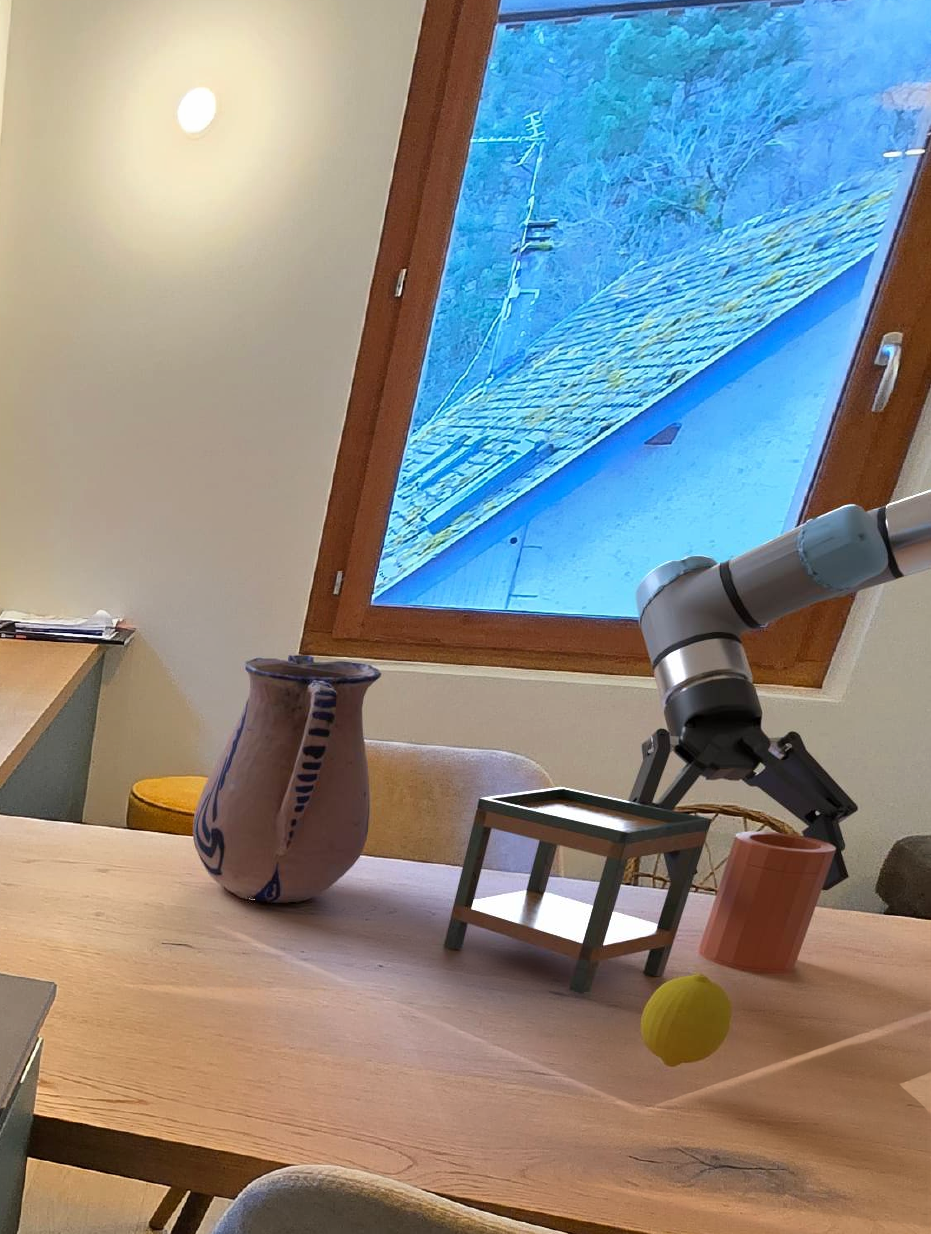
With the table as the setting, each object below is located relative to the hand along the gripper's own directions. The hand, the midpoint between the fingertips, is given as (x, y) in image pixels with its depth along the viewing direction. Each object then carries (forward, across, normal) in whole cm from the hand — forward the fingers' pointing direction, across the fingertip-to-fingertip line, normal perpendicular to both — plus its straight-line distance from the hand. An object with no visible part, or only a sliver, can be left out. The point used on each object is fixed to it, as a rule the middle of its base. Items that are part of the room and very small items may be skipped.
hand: (759, 882), depth 125 cm
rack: (+7, +19, -3) cm, 20 cm away
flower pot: (+6, 0, -4) cm, 8 cm away
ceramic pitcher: (-6, +39, -16) cm, 43 cm away
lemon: (+25, +22, +14) cm, 36 cm away
